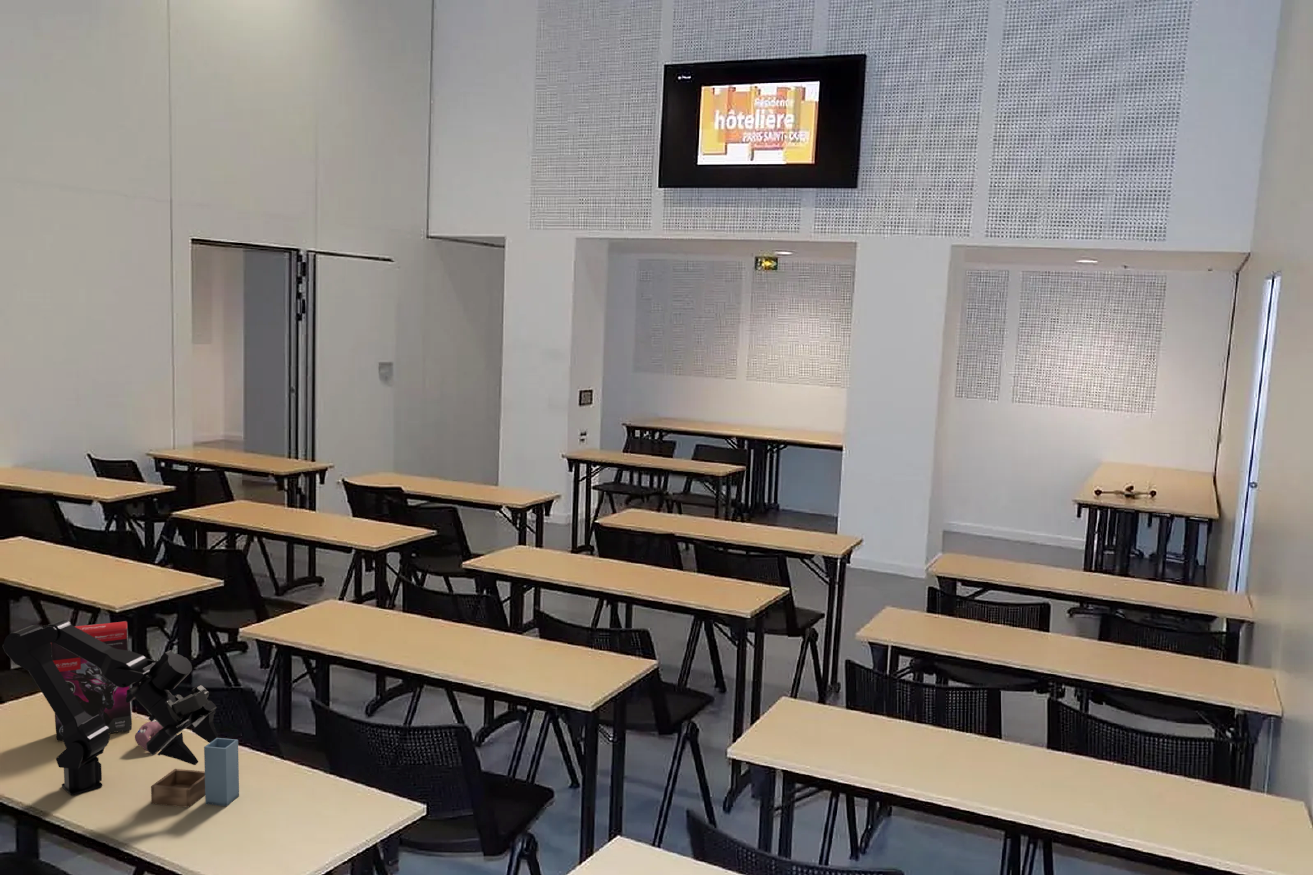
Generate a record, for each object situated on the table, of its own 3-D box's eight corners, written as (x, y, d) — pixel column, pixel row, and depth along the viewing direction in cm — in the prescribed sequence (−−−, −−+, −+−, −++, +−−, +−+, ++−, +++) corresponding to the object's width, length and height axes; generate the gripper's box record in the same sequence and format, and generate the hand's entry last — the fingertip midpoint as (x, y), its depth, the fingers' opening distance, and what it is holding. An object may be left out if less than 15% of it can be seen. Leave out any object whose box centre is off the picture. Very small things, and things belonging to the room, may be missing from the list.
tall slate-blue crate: (205, 804, 226) (204, 747, 225) (218, 793, 231) (216, 737, 230) (227, 806, 226) (225, 748, 224) (239, 795, 231) (238, 739, 229)
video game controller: (162, 743, 261) (148, 719, 260) (177, 736, 260) (164, 711, 260) (141, 760, 251) (127, 734, 250) (158, 752, 250) (144, 727, 250)
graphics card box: (54, 743, 255) (49, 635, 252) (55, 732, 261) (51, 627, 258) (132, 732, 263) (129, 627, 260) (131, 722, 269) (128, 619, 266)
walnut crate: (151, 803, 226) (150, 786, 225) (175, 785, 235) (175, 768, 234) (189, 807, 225) (189, 789, 224) (212, 789, 234) (212, 772, 233)
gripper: (157, 694, 217) (208, 749, 217) (207, 665, 236) (254, 715, 236) (124, 728, 219) (174, 782, 219) (175, 696, 238) (222, 746, 237)
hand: (208, 754), depth 228 cm, fingers open, 9 cm apart
